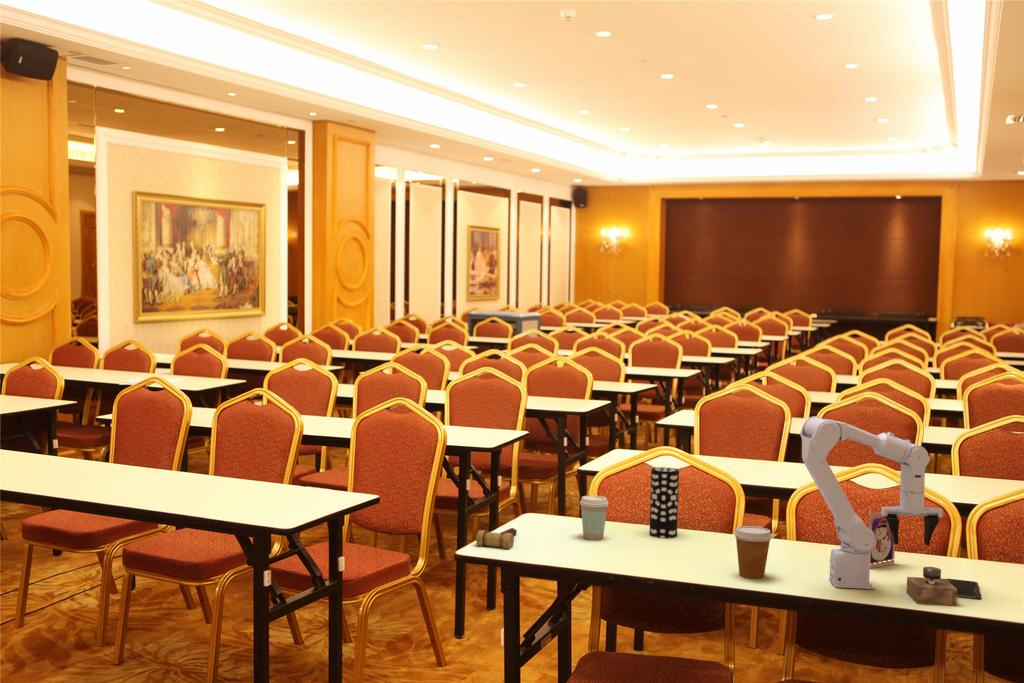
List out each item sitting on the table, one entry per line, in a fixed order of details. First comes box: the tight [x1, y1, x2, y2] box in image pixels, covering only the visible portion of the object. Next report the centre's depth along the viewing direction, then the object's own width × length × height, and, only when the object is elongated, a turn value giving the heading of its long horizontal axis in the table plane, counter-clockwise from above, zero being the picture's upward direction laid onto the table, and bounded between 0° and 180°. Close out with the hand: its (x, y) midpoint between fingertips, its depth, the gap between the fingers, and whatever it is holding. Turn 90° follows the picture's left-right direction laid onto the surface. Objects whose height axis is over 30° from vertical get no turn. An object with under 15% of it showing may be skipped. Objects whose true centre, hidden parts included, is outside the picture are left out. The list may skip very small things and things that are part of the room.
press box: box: [906, 576, 958, 606], centre depth 245 cm, size 9×9×4 cm
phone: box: [945, 578, 982, 601], centre depth 254 cm, size 8×1×15 cm
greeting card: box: [868, 508, 896, 569], centre depth 278 cm, size 11×7×15 cm, turn 123°
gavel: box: [475, 527, 518, 550], centre depth 295 cm, size 21×5×10 cm
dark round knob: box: [922, 566, 942, 584], centre depth 245 cm, size 4×4×7 cm
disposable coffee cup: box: [733, 525, 773, 579], centre depth 263 cm, size 10×10×12 cm
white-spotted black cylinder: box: [649, 466, 680, 539], centre depth 307 cm, size 8×8×20 cm
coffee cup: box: [579, 494, 609, 541], centre depth 301 cm, size 8×8×12 cm
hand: (911, 544), depth 258 cm, fingers open, 7 cm apart
